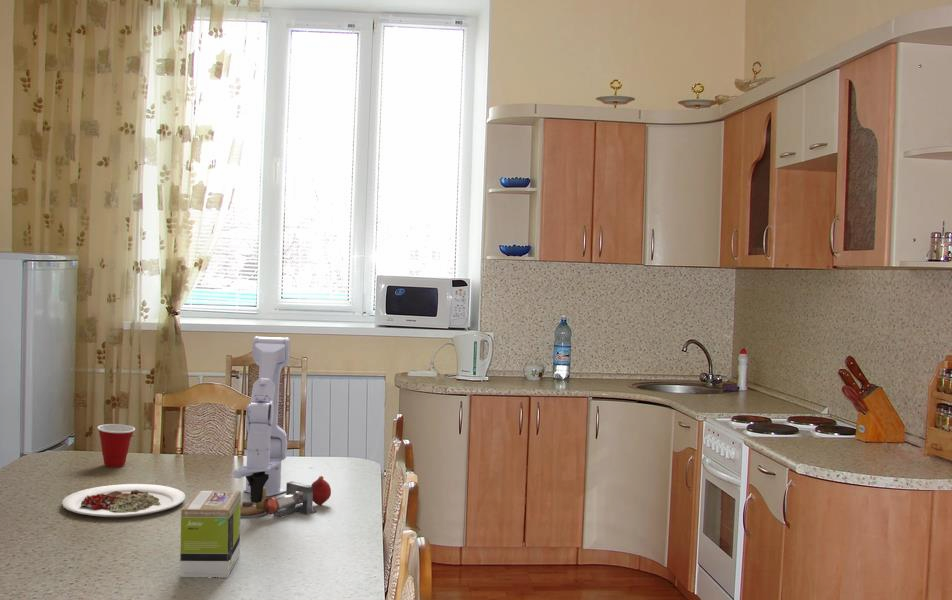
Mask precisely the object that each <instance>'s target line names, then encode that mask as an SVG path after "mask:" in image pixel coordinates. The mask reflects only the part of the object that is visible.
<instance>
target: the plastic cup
mask: <svg viewBox="0 0 952 600" xmlns="http://www.w3.org/2000/svg"><path fill="white" fill-rule="evenodd" d="M96 428H97V430H98V433H99V438H100V446H101V453H102V458H103V464H104V466H105V467H107V468H121V467H124V466H125V464H126V462H127V456H128V453H129V448H130V444H131V439H132V438H133V437H132V436H133V433H134V432H135V430H136V428H135V427H134V426H132V425H126V424H119V423H114V424H113V423H108V424H107V423H106V424H101V425H98V426H97V427H96Z"/></svg>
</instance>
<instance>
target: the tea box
mask: <svg viewBox="0 0 952 600" xmlns="http://www.w3.org/2000/svg"><path fill="white" fill-rule="evenodd" d="M241 497H242V496H241V490H196V491H195V493H194V494H193V495H192V496H191V497H190V499H189V500H188V501H187V502H186V503H185V505H184V506H183V507H182V509H180V510H181V511H180V551H179V552H180V555H179V557H180V559H179V560H180V561H179V563H180V565H179V567H180V568H179V571H180V572H179V575H180V578H181V577H216V578H215V579H225V578H228V577H229V576H230V573H231V571H232V569H233V568H234V566H235V564H236V563H237V560H238V558H239V556H240V554H241V518H240V503H241V500H242V499H241ZM217 577H218V578H217Z"/></svg>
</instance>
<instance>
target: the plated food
mask: <svg viewBox="0 0 952 600" xmlns="http://www.w3.org/2000/svg"><path fill="white" fill-rule="evenodd" d="M185 500H186V494H185V493H184V492H183V491H182V490H180V489H178V488H175V487H172V486H166V485H159V484H152V483H151V484H148V483H147V484H146V483H124V484H123V483H122V484H112V485H111V484H109V485H103V486H97V487H90V488H86V489H82V490H78V491H76V492H72V493H71V494H69V495H67V496H65V497H64V498H63V499H62V502H61V505H62V506H63V508H64V509H66V510H68V511H70V512H72V513H76V514H80V515H87V516H91V517H92V516H93V517H100V518H102V517H103V518H130V517H138V516H145V515H149V514H150V515H151V514H155V513H158V512H163V511H166V510H169V509H173V508H174V507H177V506H180V504H182V503H183V502H184V501H185Z"/></svg>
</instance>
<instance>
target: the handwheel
mask: <svg viewBox="0 0 952 600" xmlns="http://www.w3.org/2000/svg"><path fill="white" fill-rule="evenodd" d="M266 498H267V497H266V488H265V487H263V495H262V501H261V502H258V503H254V502H251V499H241V503H240V515H255V514H260V513H264V512H265V510H264V506H263V504H264V501H265V499H266Z"/></svg>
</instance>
